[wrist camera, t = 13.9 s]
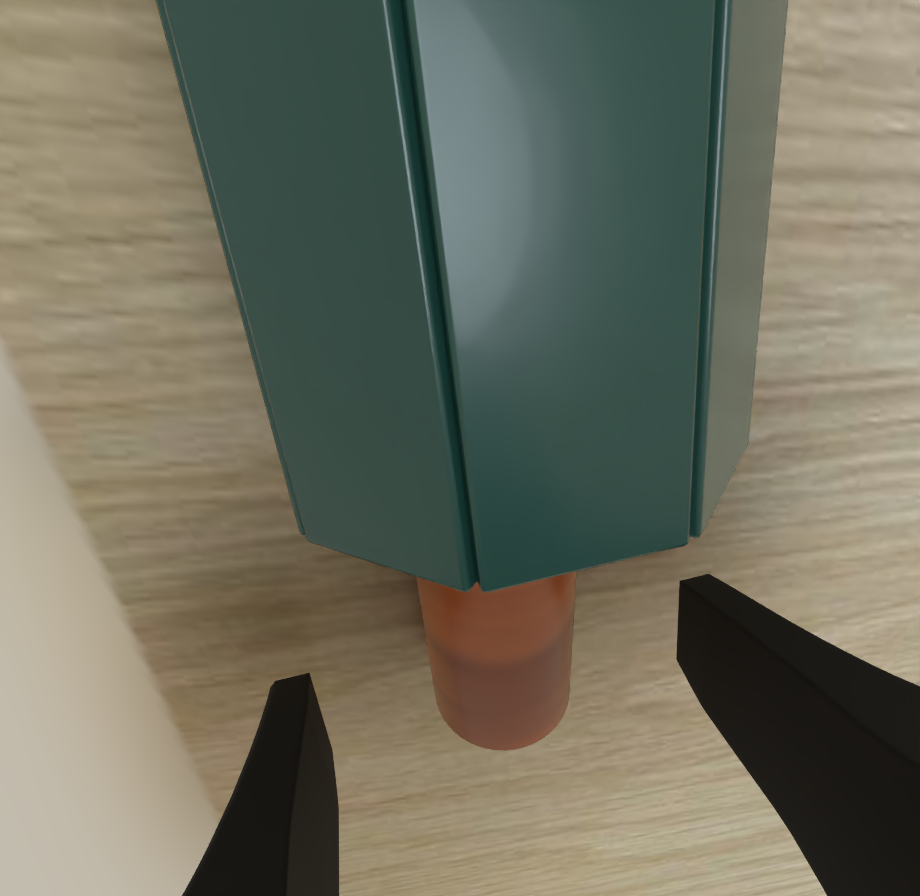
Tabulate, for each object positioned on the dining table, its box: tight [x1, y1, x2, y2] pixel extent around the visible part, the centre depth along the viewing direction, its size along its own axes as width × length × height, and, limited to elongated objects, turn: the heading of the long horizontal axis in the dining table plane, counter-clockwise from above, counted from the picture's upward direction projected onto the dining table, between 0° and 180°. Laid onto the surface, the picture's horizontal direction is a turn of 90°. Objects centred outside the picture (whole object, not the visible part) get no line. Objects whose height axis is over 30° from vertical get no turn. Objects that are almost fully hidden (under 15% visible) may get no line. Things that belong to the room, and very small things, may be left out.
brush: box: [416, 571, 577, 750], centre depth 10 cm, size 15×3×3 cm, turn 7°
